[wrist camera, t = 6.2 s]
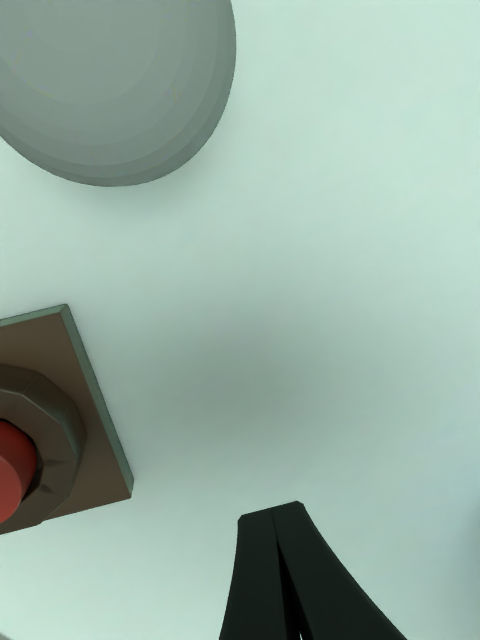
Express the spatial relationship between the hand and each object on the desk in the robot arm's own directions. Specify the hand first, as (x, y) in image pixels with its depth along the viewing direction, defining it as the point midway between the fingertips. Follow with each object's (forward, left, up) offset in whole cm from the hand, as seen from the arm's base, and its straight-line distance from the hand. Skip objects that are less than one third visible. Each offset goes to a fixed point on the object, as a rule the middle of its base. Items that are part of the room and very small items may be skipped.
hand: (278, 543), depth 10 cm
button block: (-1, +10, -11) cm, 15 cm away
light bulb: (+10, +1, -11) cm, 15 cm away
